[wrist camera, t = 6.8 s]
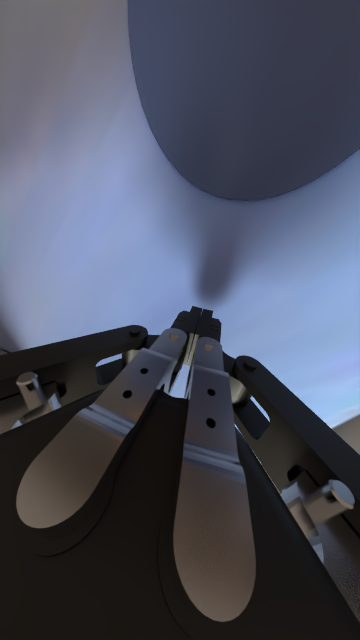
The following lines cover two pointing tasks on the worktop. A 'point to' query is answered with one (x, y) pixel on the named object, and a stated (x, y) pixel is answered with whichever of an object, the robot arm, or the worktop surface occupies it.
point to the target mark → (249, 89)
